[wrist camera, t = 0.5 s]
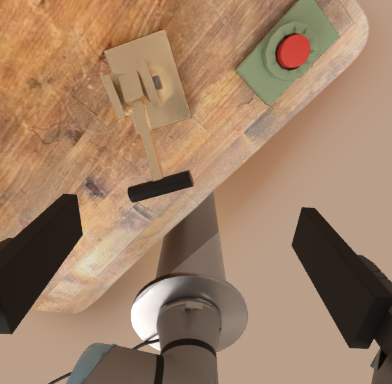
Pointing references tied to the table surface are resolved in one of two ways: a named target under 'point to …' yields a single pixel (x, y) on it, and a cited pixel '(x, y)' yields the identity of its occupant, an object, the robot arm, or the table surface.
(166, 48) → the power switch
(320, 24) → the control pad
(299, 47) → the stop button
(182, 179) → the lever
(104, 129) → the table surface
